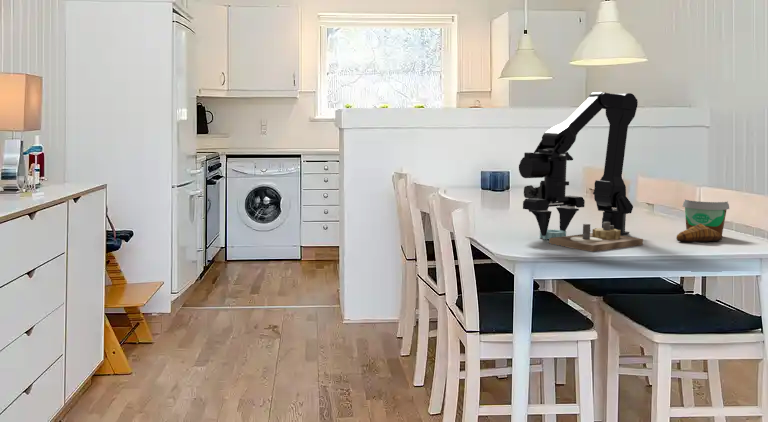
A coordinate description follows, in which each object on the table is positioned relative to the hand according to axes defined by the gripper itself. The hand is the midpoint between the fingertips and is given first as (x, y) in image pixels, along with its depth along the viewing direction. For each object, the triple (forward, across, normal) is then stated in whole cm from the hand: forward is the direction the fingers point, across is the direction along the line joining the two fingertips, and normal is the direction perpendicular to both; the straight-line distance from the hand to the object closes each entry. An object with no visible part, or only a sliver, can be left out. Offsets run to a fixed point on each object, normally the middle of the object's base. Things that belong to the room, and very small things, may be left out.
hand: (552, 234), depth 210 cm
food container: (+1, -40, +20) cm, 45 cm away
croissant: (+1, -30, +25) cm, 39 cm away
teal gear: (+1, 0, 0) cm, 1 cm away
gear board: (+1, -2, +13) cm, 13 cm away
